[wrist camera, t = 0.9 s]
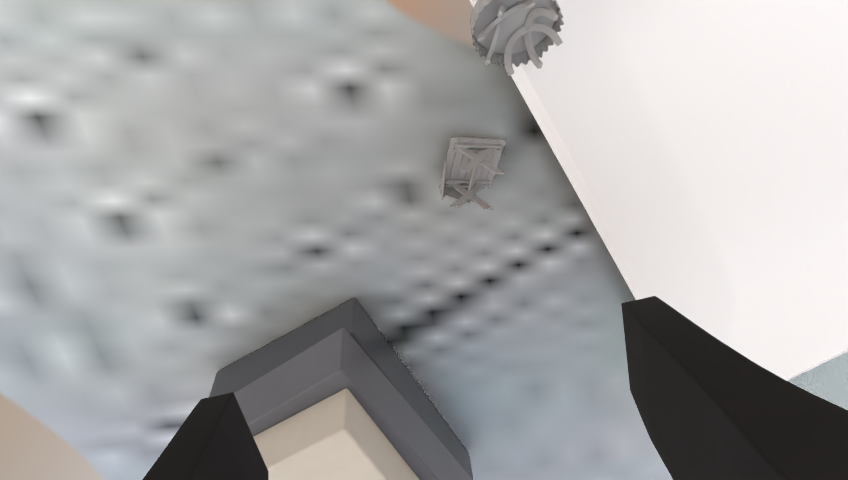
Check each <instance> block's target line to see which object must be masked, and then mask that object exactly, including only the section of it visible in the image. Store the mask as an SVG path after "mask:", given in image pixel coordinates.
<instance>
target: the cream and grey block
mask: <svg viewBox="0 0 848 480" xmlns="http://www.w3.org/2000/svg"><path fill="white" fill-rule="evenodd" d="M345 388H347V389H348V390H349V391H350V392H351V393H352V395H353V396H354V397H355V399H356V400H357V401H358V402H359V404H360V405H361V406H362V407H363V409H364V410H365V411H366V412H367V414H368V415H369V416H370V418H371V419H372V420H373V421H374V423H375V424H376V425H377V426H378V428H379V429H380V430H381V431H382V433H383V434H384V435H385V437H386V438H387V439H388V440H389V442H390V443H391V444H392V445H393V447H394V448H395V449H396V451H397V452H398V453H399V454H400V456H401V457H402V458H403V459H404V461H405V462H406V463H407V464H408V466H409V467H410V468H411V470H412V471H413V472H414V473H415V475H416V476H417V477H418V478H419V480H473V475H472V469H471V464H470V458H469V453H468V452H467V450H466V449H465V448H464V446H463V445H462V444H461V442H460V441H459V439H458V438H457V437H456V435H455V434H454V433H453V431H452V430H451V428H450V427H449V426H448V424H447V423H446V422H445V420H444V419H443V418H442V416H441V415H440V413H439V412H438V411H437V409H436V408H435V407H434V405H433V404H432V402H431V401H430V400H429V398H428V397H427V396H426V394H425V393H424V392H423V390H422V389H421V387H420V386H419V385H418V383H417V382H416V381H415V379H414V378H413V376H412V375H411V374H410V372H409V371H408V370H407V368H406V367H405V365H404V364H403V363H402V361H401V360H400V359H399V357H398V356H397V355H396V353H395V352H394V350H393V349H392V348H391V346H390V345H389V344H388V342H387V341H386V339H385V338H384V337H383V335H382V334H381V333H380V331H379V330H378V329H377V327H376V326H375V324H374V323H373V322H372V320H371V319H370V318H369V316H368V315H367V313H366V312H365V311H364V309H363V308H362V307H361V305H360V304H359V303H358V301H357V300H356V299H355V298H352V299H350V300H348V301H347V302H345V303H343V304H341V305H339V306H337V307H336V308H334V309H332V310H330V311H328V312H326V313H325V314H323V315H321V316H319V317H317V318H315V319H314V320H312V321H310V322H308V323H306V324H304V325H303V326H301V327H299V328H297V329H295V330H293V331H292V332H290V333H288V334H286V335H284V336H282V337H281V338H279V339H277V340H275V341H273V342H271V343H270V344H268V345H266V346H264V347H262V348H260V349H259V350H257V351H255V352H253V353H251V354H249V355H248V356H246V357H244V358H242V359H240V360H238V361H237V362H235V363H233V364H231V365H229V366H227V367H226V368H224V369H222V370H220V371H218V372H217V374H216V377H215V380H214V384H213V387H212V390H211V393H210V396H209V397H213V396H218V395H222V394H227V393H231V392H233V393H234V395H235V397H236V399H237V402H238V404H239V406H240V408H241V411H242V413H243V415H244V417H245V420H246V422H247V424H248V426H249V429H250V431H251V433H252V435H253V436H255V435H257V434H259V433H261V432H263V431H265V430H267V429H269V428H271V427H273V426H275V425H276V424H278V423H280V422H282V421H284V420H286V419H288V418H290V417H292V416H294V415H296V414H297V413H299V412H301V411H303V410H305V409H307V408H309V407H311V406H313V405H315V404H317V403H319V402H320V401H322V400H324V399H326V398H328V397H330V396H332V395H334V394H336V393H338V392H340V391H341V390H343V389H345Z"/></svg>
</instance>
